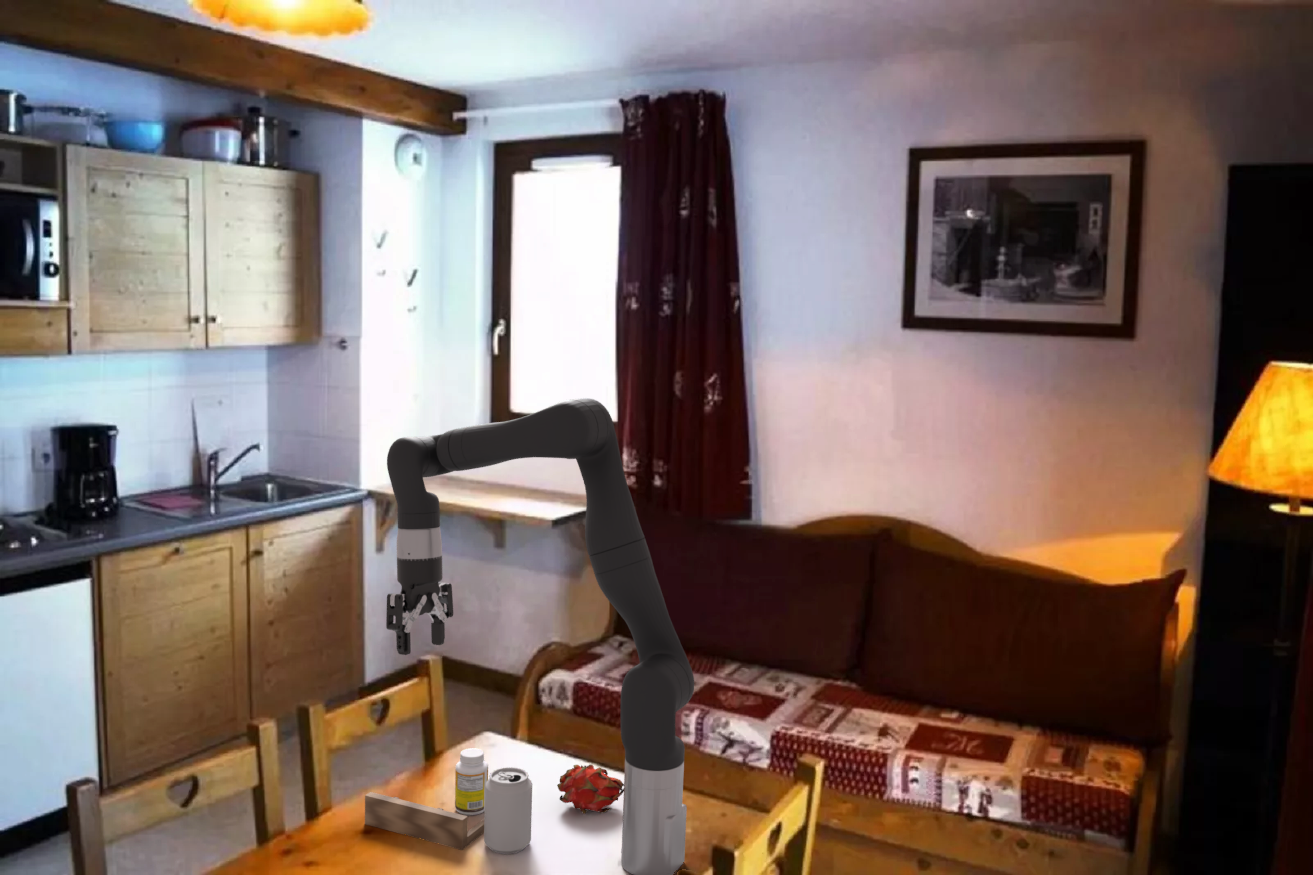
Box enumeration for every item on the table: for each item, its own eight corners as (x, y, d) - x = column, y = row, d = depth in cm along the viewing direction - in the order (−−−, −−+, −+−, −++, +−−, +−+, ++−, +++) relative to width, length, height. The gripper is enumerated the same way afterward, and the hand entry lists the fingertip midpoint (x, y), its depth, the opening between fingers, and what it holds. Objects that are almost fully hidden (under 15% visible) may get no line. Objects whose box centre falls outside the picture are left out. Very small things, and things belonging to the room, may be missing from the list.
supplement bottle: (467, 799, 193) (469, 743, 192) (493, 807, 190) (495, 750, 189) (447, 811, 188) (448, 754, 187) (474, 819, 186) (475, 761, 184)
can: (522, 859, 173) (523, 786, 172) (476, 853, 174) (478, 780, 173) (536, 837, 180) (538, 767, 179) (493, 831, 182) (494, 762, 180)
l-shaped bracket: (488, 829, 182) (489, 800, 182) (462, 850, 175) (462, 820, 174) (394, 805, 190) (394, 777, 189) (364, 824, 182) (364, 795, 182)
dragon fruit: (551, 814, 192) (618, 825, 193) (554, 805, 185) (624, 816, 185) (559, 765, 196) (625, 776, 197) (562, 754, 189) (631, 765, 190)
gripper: (407, 560, 178) (410, 660, 179) (463, 550, 191) (465, 643, 191) (373, 558, 182) (375, 655, 182) (430, 548, 194) (432, 639, 195)
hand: (421, 649), depth 187 cm, fingers open, 8 cm apart
